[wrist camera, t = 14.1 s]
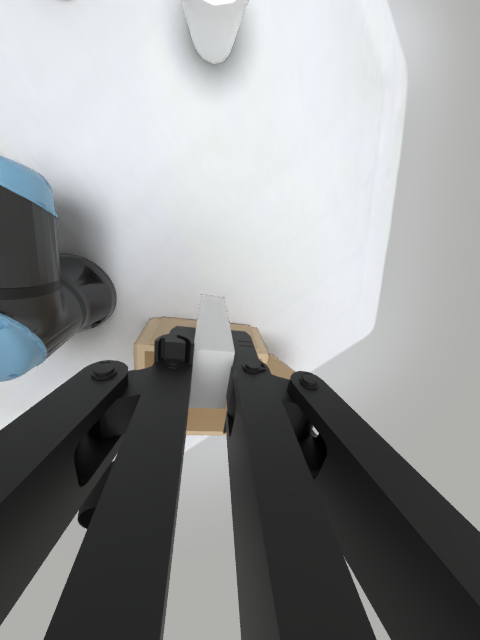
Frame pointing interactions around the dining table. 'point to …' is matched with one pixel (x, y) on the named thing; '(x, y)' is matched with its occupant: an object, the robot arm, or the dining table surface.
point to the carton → (198, 418)
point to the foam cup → (214, 26)
